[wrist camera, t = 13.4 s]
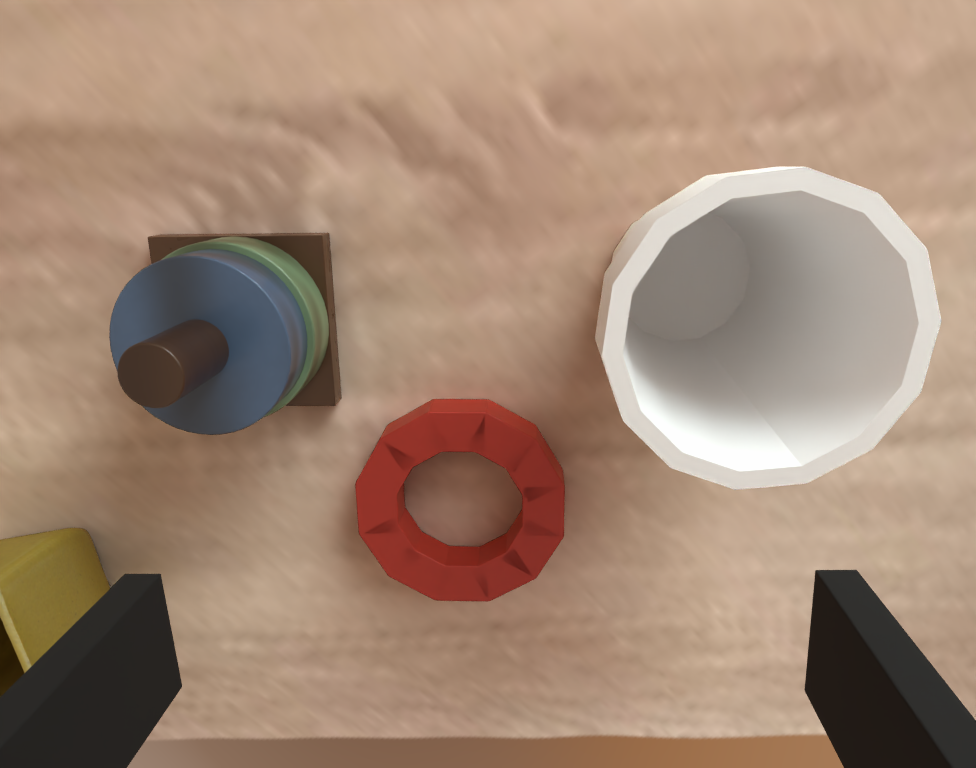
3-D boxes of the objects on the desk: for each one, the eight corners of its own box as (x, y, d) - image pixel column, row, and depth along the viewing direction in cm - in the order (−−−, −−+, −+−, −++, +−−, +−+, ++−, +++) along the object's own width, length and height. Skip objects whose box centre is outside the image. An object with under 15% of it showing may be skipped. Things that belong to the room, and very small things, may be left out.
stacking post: (329, 232, 34) (250, 259, 24) (341, 398, 36) (274, 482, 26) (160, 234, 34) (16, 261, 25) (182, 398, 36) (59, 481, 27)
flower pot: (111, 487, 38) (-10, 581, 30) (164, 630, 41) (66, 756, 32) (-42, 513, 39) (-203, 612, 30) (18, 652, 41) (-115, 779, 33)
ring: (563, 399, 35) (566, 412, 34) (560, 581, 38) (562, 603, 36) (359, 398, 36) (349, 411, 34) (371, 578, 39) (363, 599, 37)
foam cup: (725, 123, 32) (853, 97, 19) (821, 304, 34) (993, 386, 21) (536, 243, 33) (541, 290, 21) (637, 408, 35) (697, 540, 23)
